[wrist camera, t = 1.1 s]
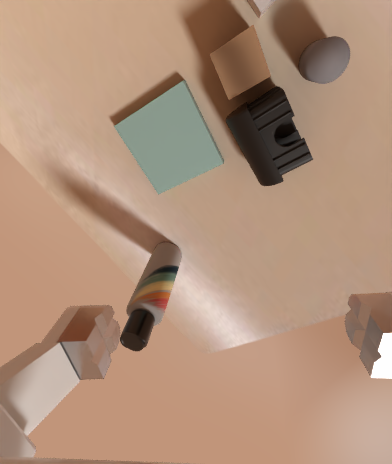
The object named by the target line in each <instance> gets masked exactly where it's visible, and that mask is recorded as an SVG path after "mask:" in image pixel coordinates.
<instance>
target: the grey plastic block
mask: <svg viewBox="0 0 392 464" xmlns="http://www.w3.org/2000/svg"><path fill="white" fill-rule="evenodd" d="M247 1H248V2H249V4H250V5H251V7H252V8H253V10H254V11H255V13H256V15H257V16H258V18H260V17H261V16H262V15H263V14H264V13H265V12H266V10H267V9H268V8H269V7H270V6H271V5H272V4H273V3H274V2H275V0H247Z"/></svg>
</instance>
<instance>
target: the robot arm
mask: <svg viewBox="0 0 392 464" xmlns="http://www.w3.org/2000/svg"><path fill="white" fill-rule="evenodd" d="M348 305H349V306H350V308H351V310H350V311H349V312H348V313H347V314H346V317H345V327H346V332H347V335H348V337H349V339H350V341H351V343H352V344H353V345H354V346H356V347H357V348H358V349H360V350H361V352H360V356H359V357H360V359H361V361H362V362H363V364H364V366H365V368H366V369H367V371H368V373H369V375H370V376H371V378H372V377H374V378H392V292H386V293H369V294H351V296H350V297H349V301H348ZM113 315H114V311H113V308H112V306H109V305H90V306H70V307H68V308H67V309H66V310H65V311H64V313H63V314H62V315H61V317H60V318H59V319H58V321H57V322H56V323H55V325H54V326H53V327H52V329H51V330H50V331H49V333H48V334H47V335H46V337H45V338H44V339H43V341H42V342H41V343H36V344H35V345H33V346H32V347H30V348H29V349H27V350H26V351H24V352H23V353H21V354H20V355H18V356H17V357H15V358H14V359H12V360H11V361H9V362H8V363H6V364H5V365H3V366H2V367H0V464H187V463H161V462H135V461H134V462H133V461H109V460H108V461H107V460H83V459H57V458H33V456H34V454H35V452H36V448H35V445H34V444H33V443H32V441H31V440H30V439H29V438H28V437H27V436H28V434H30V432H31V431H32V430H33V429H34V428H35V427H36V426H37V425H38V424H39V423H40V422H41V421H42V420H43V419H44V418H45V417H46V416H47V415H48V414H49V413H50V412H51V411H52V410H53V409H54V408H55V407H56V406H57V404H58V403H59V402H60V401H61V400H62V399H63V398H64V397H65V396H66V395H67V394H68V393H69V392H70V391H71V390H72V389H73V388H74V387H75V386H76V385H77V384H78V383H79V382H80V380H84V379H104V377H105V375H106V372H107V370H108V368H109V365H110V363H111V358H110V354H111V353H112V352H113V351H115V350H116V348H117V346H118V343H119V338H120V327H119V324H118V322H117V321H116V320H114V319H113V318H112V317H113Z"/></svg>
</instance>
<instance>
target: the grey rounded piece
mask: <svg viewBox="0 0 392 464" xmlns="http://www.w3.org/2000/svg"><path fill="white" fill-rule="evenodd" d="M349 59H350V48H349V46H348V44H347V42H346V41H345V40H344V39H342V38H340V37H336V36H334V37H328V38H325V39H322V40H318V41H315V42H313V43H311V44H310V45H309V46H307V47H306V49H305V50H304V51H303V53H302V55H301V57H300V60H299V71H300V74H301V75H302V77H303V78H305V79H306V80H309V81H313V82H317V83H321V84H325V83H329V82H332V81H334V80H336V79H337V78H338V77H339V76H340V75H341V74H342V73H343V72H344V71H345V69H346V67H347V65H348V63H349Z"/></svg>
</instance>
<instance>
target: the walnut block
mask: <svg viewBox="0 0 392 464" xmlns="http://www.w3.org/2000/svg"><path fill="white" fill-rule="evenodd" d="M209 55H210V57H211V59H212V62H213V64H214V67H215V69H216V71H217V74H218V76H219V78H220V81H221V83H222V85H223V88H224V90H225V92H226V95H227V97H228V100H230V99H232V98H234V97H235V96H237V95H239V94H241V93H242V92H244V91H246V90H248V89H249V88H251V87H253V86H255V85H256V84H258V83H260V82H261V81H263V80H265V79H267V78H268V77H270V76H271V75H270V72H269V69H268V66H267V63H266V60H265V57H264V55H263V52H262V49H261V46H260V43H259V40H258V37H257V34H256V31H255V28H254V25H252V26H251V27H249V28H248V29H246V30H245V31H243V32H242V33H240V34H239V35H237V36H236V37H234V38H233V39H231V40H230V41H228V42H227V43H225V44H224V45H223V46H221V47H220V48H218V49H217V50H215V51H214V52H212V53H211V54H209Z"/></svg>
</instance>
